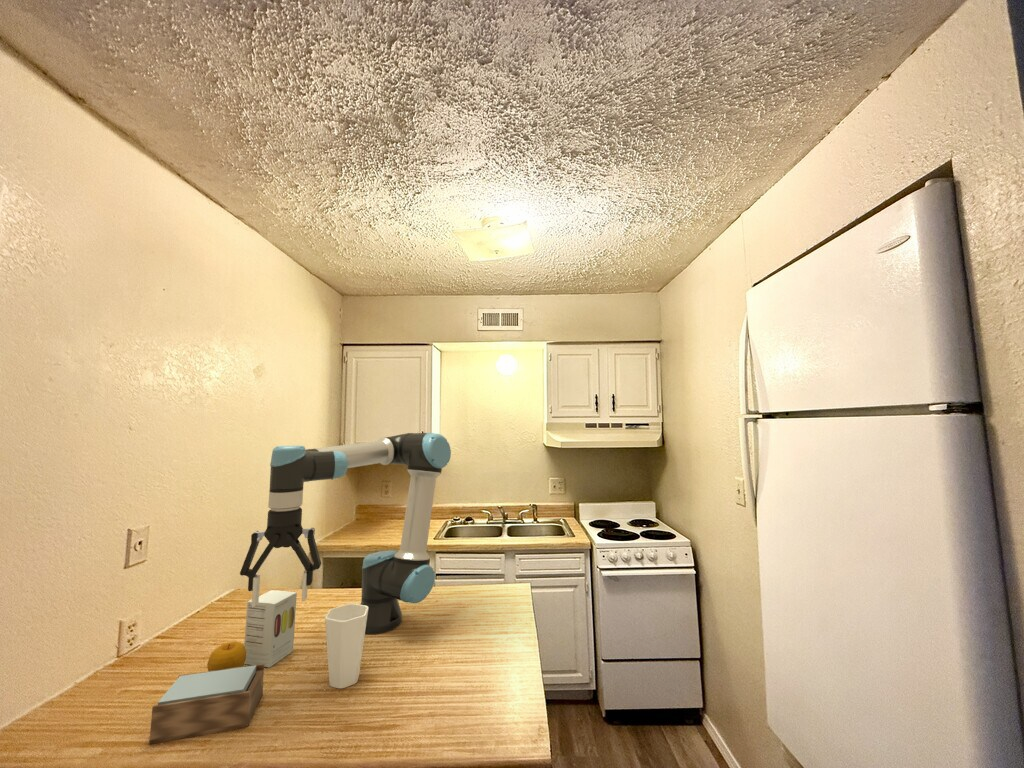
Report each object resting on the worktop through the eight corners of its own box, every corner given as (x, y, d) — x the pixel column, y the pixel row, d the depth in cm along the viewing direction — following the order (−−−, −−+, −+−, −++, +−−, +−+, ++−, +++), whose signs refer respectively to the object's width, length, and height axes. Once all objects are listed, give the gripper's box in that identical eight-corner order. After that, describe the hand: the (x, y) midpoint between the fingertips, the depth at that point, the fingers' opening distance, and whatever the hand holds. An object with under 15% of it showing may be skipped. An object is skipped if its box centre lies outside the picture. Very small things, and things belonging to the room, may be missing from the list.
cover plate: (256, 671, 103) (256, 665, 104) (242, 696, 94) (243, 689, 94) (179, 682, 99) (179, 676, 99) (157, 709, 89) (157, 702, 89)
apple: (214, 694, 104) (217, 656, 105) (199, 683, 109) (202, 647, 110) (251, 676, 111) (253, 641, 112) (235, 667, 116) (237, 633, 117)
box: (262, 694, 104) (264, 663, 105) (247, 727, 93) (249, 692, 93) (176, 707, 99) (179, 675, 100) (149, 744, 88) (152, 707, 88)
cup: (374, 673, 113) (376, 607, 115) (348, 696, 103) (351, 623, 105) (340, 666, 117) (343, 601, 118) (312, 687, 107) (316, 616, 109)
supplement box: (269, 668, 115) (273, 604, 117) (241, 664, 117) (245, 601, 119) (294, 650, 125) (297, 591, 126) (267, 647, 126) (271, 588, 128)
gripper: (336, 503, 111) (332, 590, 109) (238, 507, 105) (232, 600, 102) (332, 508, 104) (328, 602, 102) (227, 513, 98) (220, 613, 95)
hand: (280, 601), depth 102 cm, fingers open, 10 cm apart
